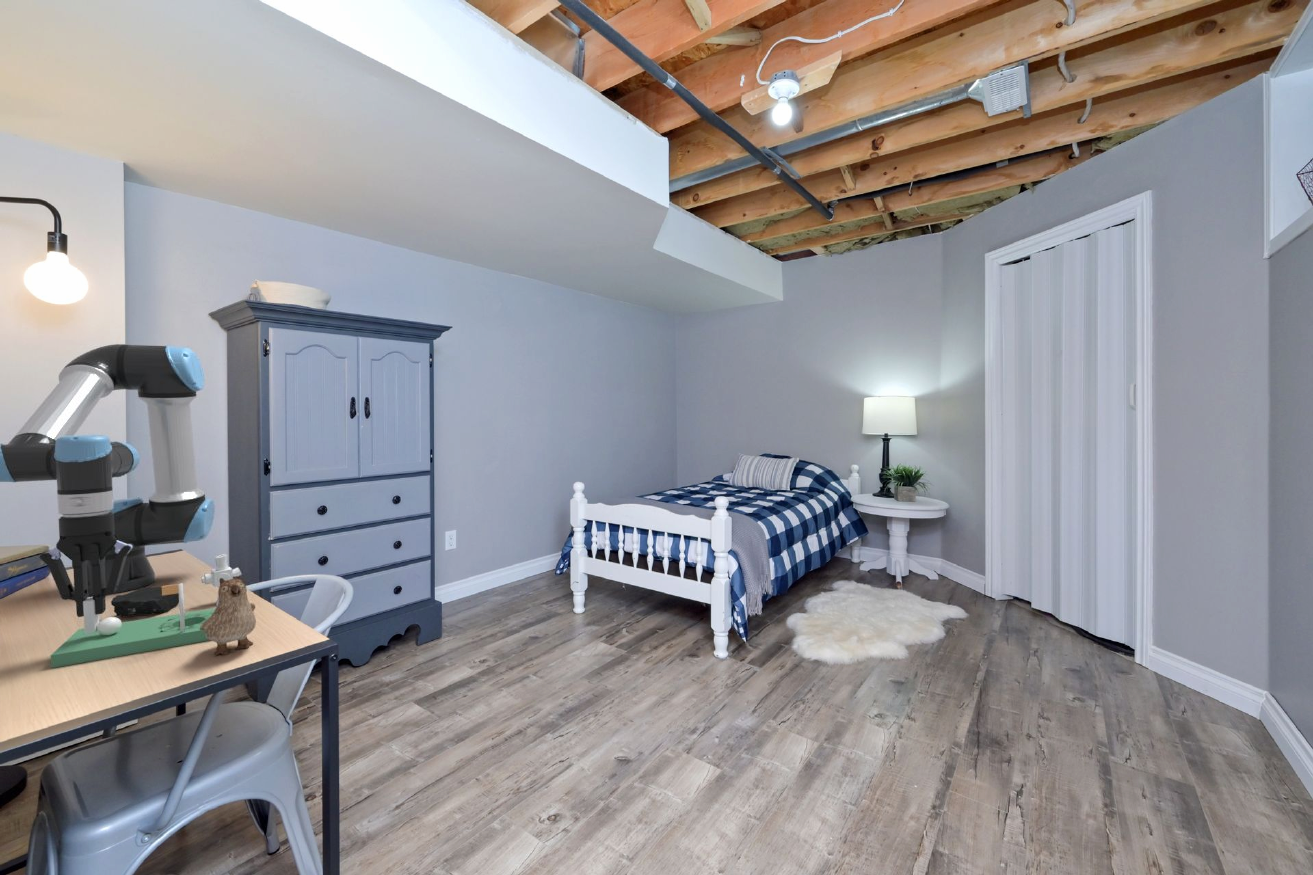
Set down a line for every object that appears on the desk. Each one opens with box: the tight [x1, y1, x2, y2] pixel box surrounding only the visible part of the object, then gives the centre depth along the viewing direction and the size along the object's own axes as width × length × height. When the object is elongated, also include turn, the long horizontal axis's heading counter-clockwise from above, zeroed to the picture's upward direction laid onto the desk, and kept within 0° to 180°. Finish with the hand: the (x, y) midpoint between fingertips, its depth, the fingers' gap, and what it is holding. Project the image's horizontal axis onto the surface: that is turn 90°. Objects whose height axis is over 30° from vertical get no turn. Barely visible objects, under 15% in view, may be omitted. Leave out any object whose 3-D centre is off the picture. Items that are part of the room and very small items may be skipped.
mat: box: [50, 583, 216, 669], centre depth 112 cm, size 14×24×12 cm, turn 122°
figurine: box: [199, 575, 257, 656], centre depth 107 cm, size 9×10×15 cm
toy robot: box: [201, 553, 243, 607], centre depth 133 cm, size 4×8×12 cm, turn 138°
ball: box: [97, 616, 122, 635], centre depth 109 cm, size 4×4×4 cm
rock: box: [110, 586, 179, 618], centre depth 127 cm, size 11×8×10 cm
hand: (92, 630), depth 108 cm, fingers closed
